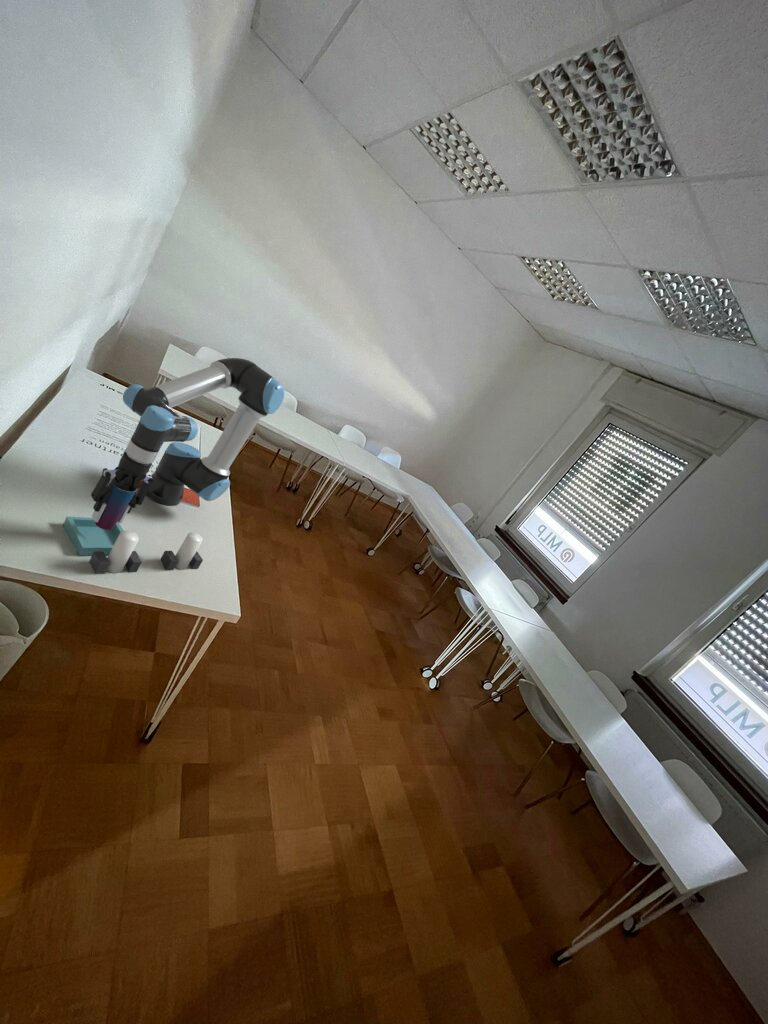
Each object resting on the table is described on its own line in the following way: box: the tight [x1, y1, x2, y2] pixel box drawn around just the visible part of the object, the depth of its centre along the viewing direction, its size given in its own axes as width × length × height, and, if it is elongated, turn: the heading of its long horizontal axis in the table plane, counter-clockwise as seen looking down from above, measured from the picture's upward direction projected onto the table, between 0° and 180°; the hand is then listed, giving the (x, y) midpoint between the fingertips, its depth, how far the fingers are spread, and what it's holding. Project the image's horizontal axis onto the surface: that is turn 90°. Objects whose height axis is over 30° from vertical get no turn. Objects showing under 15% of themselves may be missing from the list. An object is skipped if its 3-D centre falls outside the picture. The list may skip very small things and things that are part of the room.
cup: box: [95, 478, 138, 530], centre depth 124 cm, size 7×7×15 cm
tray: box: [62, 516, 125, 557], centre depth 127 cm, size 14×14×3 cm
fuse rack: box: [88, 529, 204, 575], centre depth 130 cm, size 32×5×12 cm, turn 142°
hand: (107, 519), depth 125 cm, fingers closed on cup, 6 cm apart
